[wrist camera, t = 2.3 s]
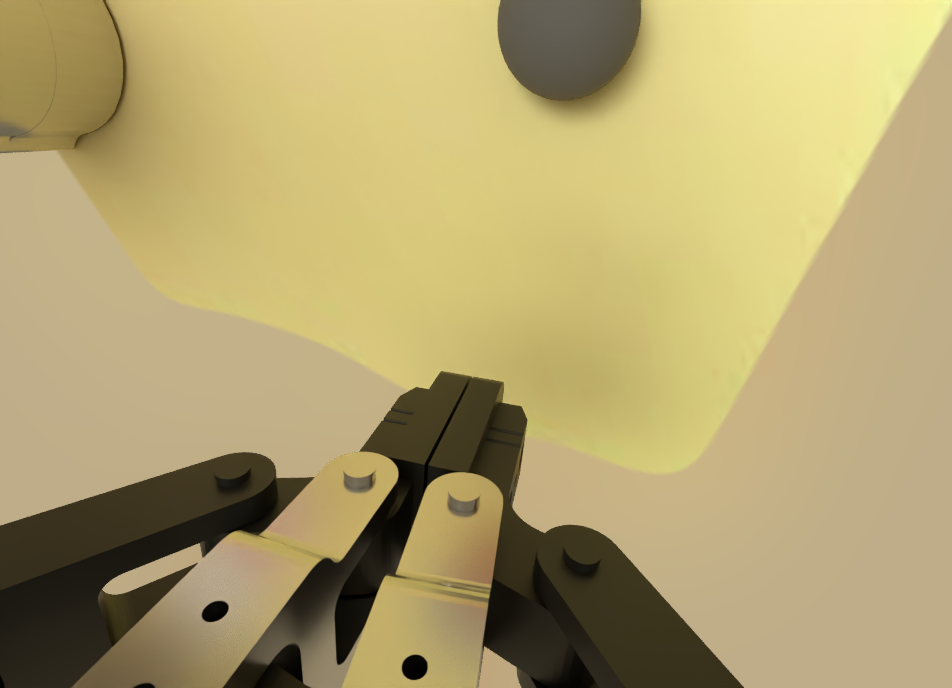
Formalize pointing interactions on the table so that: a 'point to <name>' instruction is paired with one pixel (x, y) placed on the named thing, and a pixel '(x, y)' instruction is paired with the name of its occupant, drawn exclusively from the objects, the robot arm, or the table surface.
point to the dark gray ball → (567, 43)
